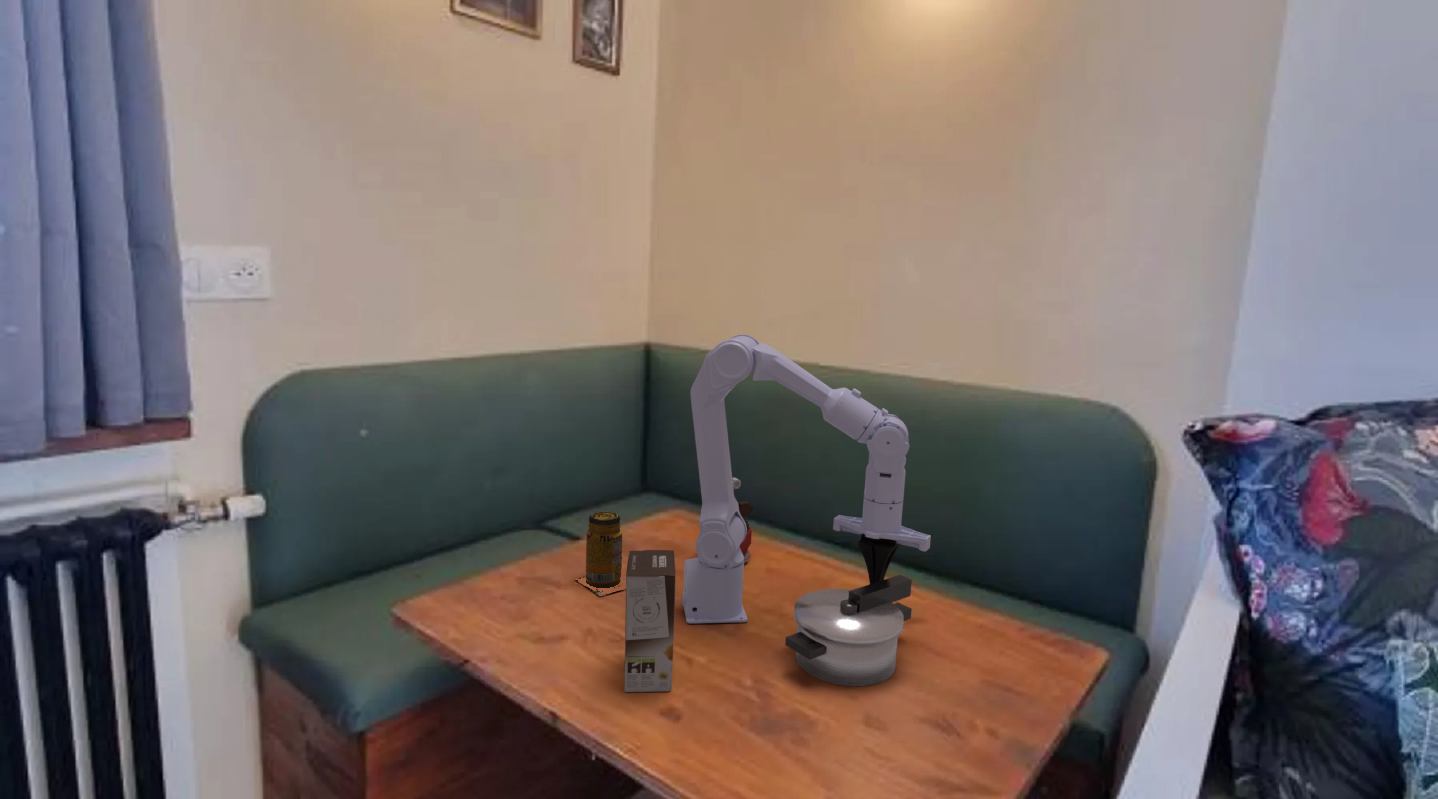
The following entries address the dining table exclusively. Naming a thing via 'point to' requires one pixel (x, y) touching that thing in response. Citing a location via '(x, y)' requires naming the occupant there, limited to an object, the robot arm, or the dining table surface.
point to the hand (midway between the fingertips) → (876, 584)
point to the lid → (855, 612)
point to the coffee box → (649, 620)
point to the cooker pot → (845, 658)
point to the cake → (744, 512)
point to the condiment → (603, 550)
